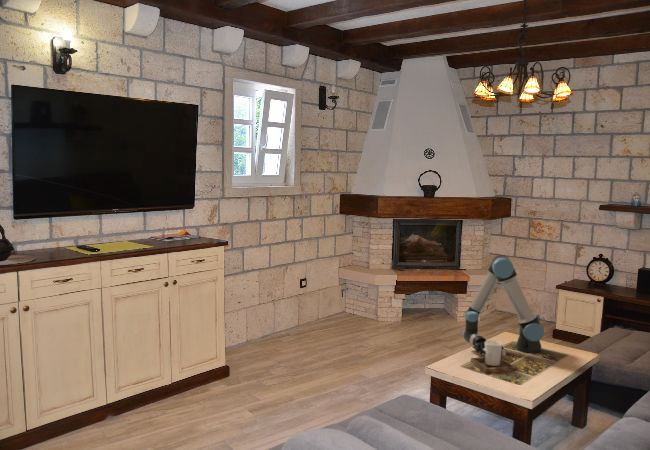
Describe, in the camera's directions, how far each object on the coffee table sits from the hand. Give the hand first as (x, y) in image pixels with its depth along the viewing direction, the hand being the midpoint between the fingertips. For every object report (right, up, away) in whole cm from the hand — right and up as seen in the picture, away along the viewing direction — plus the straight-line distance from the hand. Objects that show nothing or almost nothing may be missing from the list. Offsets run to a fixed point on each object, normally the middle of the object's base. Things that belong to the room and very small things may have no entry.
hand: (496, 354), depth 297 cm
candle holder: (-1, -7, +5) cm, 9 cm away
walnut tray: (-1, -9, +5) cm, 10 cm away
